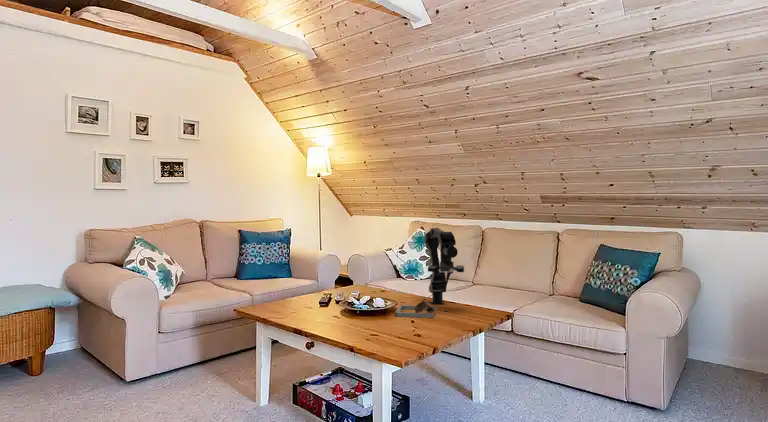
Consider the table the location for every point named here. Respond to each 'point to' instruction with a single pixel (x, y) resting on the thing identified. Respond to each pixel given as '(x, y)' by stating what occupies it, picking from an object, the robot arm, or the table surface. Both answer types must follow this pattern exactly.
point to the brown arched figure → (424, 307)
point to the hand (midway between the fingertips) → (446, 284)
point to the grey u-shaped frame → (406, 314)
